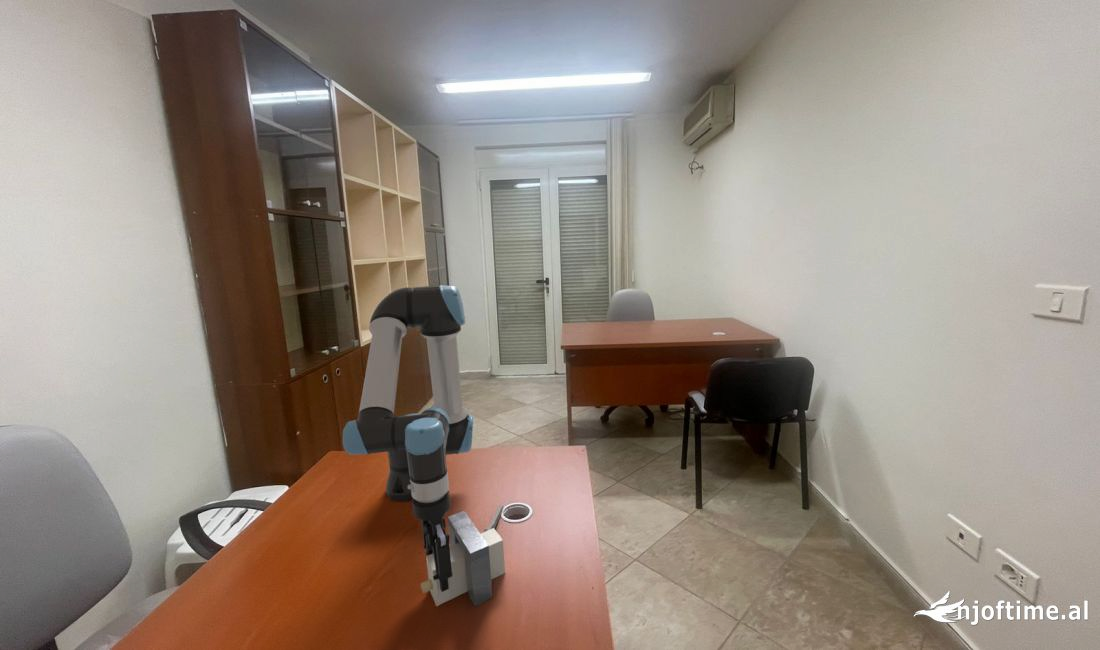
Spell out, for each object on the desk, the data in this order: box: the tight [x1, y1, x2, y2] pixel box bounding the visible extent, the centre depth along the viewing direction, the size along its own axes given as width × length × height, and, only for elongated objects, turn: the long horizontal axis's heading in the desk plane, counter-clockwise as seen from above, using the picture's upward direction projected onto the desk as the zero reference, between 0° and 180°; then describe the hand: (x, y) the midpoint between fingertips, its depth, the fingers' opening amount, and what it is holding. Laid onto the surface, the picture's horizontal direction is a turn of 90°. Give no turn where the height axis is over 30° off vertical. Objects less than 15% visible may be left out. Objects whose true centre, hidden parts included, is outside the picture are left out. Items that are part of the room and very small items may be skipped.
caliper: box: [483, 505, 504, 532], centre depth 109 cm, size 20×1×6 cm, turn 175°
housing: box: [447, 510, 493, 607], centre depth 91 cm, size 14×4×12 cm, turn 32°
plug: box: [420, 528, 506, 607], centre depth 91 cm, size 5×18×8 cm, turn 122°
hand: (440, 591), depth 89 cm, fingers closed on plug, 5 cm apart
